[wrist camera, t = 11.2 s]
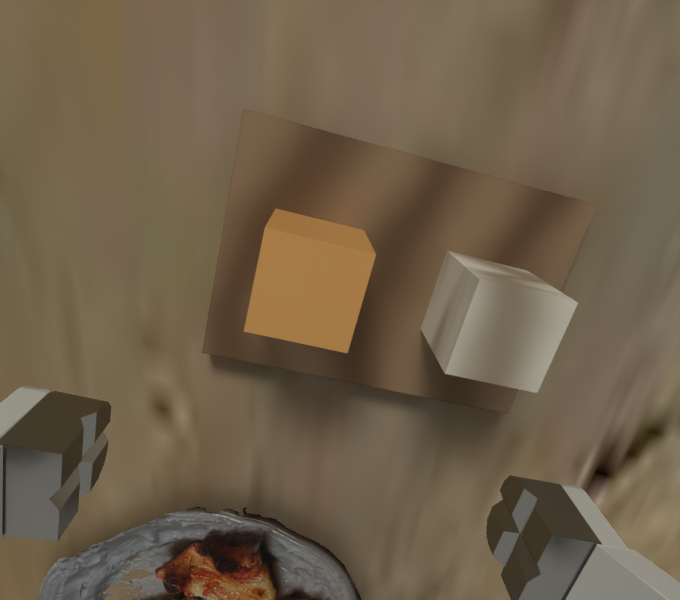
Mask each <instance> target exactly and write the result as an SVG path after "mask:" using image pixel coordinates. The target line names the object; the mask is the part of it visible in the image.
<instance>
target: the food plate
mask: <svg viewBox="0 0 680 600" xmlns="http://www.w3.org/2000/svg"><path fill="white" fill-rule="evenodd" d="M245 509H246V508H244V509H243V513H244V515H245V517H240V516H239V515H238V512H237V511H234V510H233V509H232V510H231V509H222V510H221V511H218V512H216V513H207V512H206V510H205V508H200V507H195V508H191V509H186V510H181V511H179V512H173V513H172V514H171V513H169V514H163V515H170V516H166V517H164V518H158V519H155V520H153V521H150V522H148V523H146V524H145V523H144V524H143V525H141V526H137V527H134V528H132V529H129V530H127V531H122V532H121V533H118V534H117V535H116V536H114V537H113V538H112V539H109V540H106V541H104V542H99V543H98V544H93V545H92V546H91V547H89V548H88V549H86V550H85V551H82V552H80V553H79V555H78V556H72V557H70V558H69V557H67V558H69V559H68V560H65V559H67V558H59V559H58V560H57V562H56V563H55V564H54V565H53V566H52V567H51V568H50V569H49V571H48V573H47V574H46V576H45V577H44V579H43V581H42V583H41V587H40V592H39V598H38V600H104V598H105V597H106V596H107V594H109V595H111V594H114V593H111V592H109V591H108V590H107V588H108V587H109V585H111V586H115V585H117V584H120V582H123V583H126V584H127V585H133V587H132V588H130V587H127V589H128V590H130V589H132V590H135V588H136V587H140V586H143V587H142V591H140V593H144V594H141V595H138V596H140V600H361V598H360V595H359V594H358V592H357V589H356V588H355V585H354V582H353V581H352V579H351V578H350V575H349V574H348V572H347V570H346V568H345V566H344V565H343V563H341V561H340V560H338V558H336V557H335V555H333V553H331V552H330V551H329V549H326V548H325V547H324V546H320V544H319V543H317V542H315V541H314V540H311V539H309V538H306V537H304V536H301V535H299V534H297V533H296V532H294V531H291V530H290V529H289V528H286V527H285V526H284V525H282V523H280V522H279V521H277V520H276V519H272V518H264V517H261V515H259V514H258V515H257V514H256V515H254V514H247V513H246V511H245ZM166 543H168V544H166ZM164 544H166V545H165V546H164ZM141 551H143V552H141ZM147 554H148V555H147ZM76 555H77V554H76ZM138 555H140V558H139V559H136V558H135V559H134V560H133V561H132V562H131V561H130V559H131V558H133V557H136V556H138ZM158 556H159V557H158ZM63 560H65V561H63ZM61 561H63V562H61ZM136 561H138V562H137V563H136V564H135V562H136ZM144 561H145V562H144ZM151 563H154V564H156V567H153V568H152V567H151V566H150V565H151ZM128 565H131V567H130V570H128V571H127V572H126V571H124V569H126V567H127V566H128ZM140 566H143V567H142V568H141V567H140ZM136 568H137V569H136ZM133 569H135V570H138V569H141V570H142V571H143V570H146V571H148V573H150V574H152V575H150V576H148V577H146V578H143V579H132V581H131V582H130V581H128V582H126V581H121V579H122V578H123V576H124V574H122V573H125V575H128V574H129V573H130V571H131V570H133ZM118 571H119V572H121V573H119V574H116V573H117V572H118ZM133 576H134V575H133ZM139 577H141V575H139ZM117 582H118V583H117ZM123 588H124V587H121V589H123ZM125 593H127V594H128V595H130V596H131V593H129V592H125ZM115 594H117V592H115ZM136 596H137V594H135V595H134V596H133V597H136ZM166 596H167V597H166ZM117 597H119V596H117ZM133 600H138V599H135V598H134V599H133Z"/></svg>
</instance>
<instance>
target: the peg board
mask: <svg viewBox="0 0 680 600" xmlns="http://www.w3.org/2000/svg"><path fill="white" fill-rule="evenodd" d="M597 207H598V205H595V204H591V203H588V202H584V201H580V200H576V199H573V198H569V197H565V196H562V195H558V194H554V193H551V192H547V191H543V190H540V189H536V188H532V187H529V186H525V185H521V184H518V183H514V182H510V181H507V180H503V179H499V178H496V177H492V176H488V175H484V174H481V173H477V172H473V171H470V170H466V169H462V168H459V167H455V166H451V165H448V164H444V163H440V162H437V161H433V160H429V159H426V158H422V157H418V156H415V155H411V154H407V153H404V152H400V151H396V150H392V149H389V148H385V147H381V146H378V145H374V144H370V143H367V142H363V141H359V140H356V139H352V138H348V137H345V136H341V135H337V134H334V133H330V132H326V131H323V130H319V129H315V128H312V127H308V126H304V125H300V124H297V123H293V122H289V121H286V120H282V119H278V118H275V117H271V116H267V115H264V114H260V113H256V112H253V111H249V110H245V109H244V110H243V116H242V122H241V128H240V133H239V139H238V145H237V151H236V157H235V163H234V169H233V174H232V180H231V186H230V192H229V198H228V204H227V210H226V215H225V221H224V227H223V233H222V239H221V245H220V251H219V256H218V262H217V268H216V274H215V280H214V286H213V292H212V297H211V303H210V309H209V315H208V321H207V327H206V333H205V338H204V344H203V350H202V353H206V354H211V355H216V356H221V357H226V358H231V359H236V360H241V361H246V362H251V363H256V364H261V365H266V366H271V367H276V368H281V369H286V370H291V371H296V372H301V373H306V374H311V375H316V376H321V377H326V378H331V379H336V380H341V381H346V382H351V383H356V384H361V385H366V386H371V387H376V388H381V389H386V390H391V391H396V392H401V393H406V394H411V395H416V396H421V397H426V398H431V399H436V400H441V401H446V402H451V403H456V404H461V405H466V406H471V407H476V408H481V409H486V410H491V411H496V412H501V413H506V414H508V411H509V409H510V407H511V404H512V402H513V400H514V398H515V395H516V393H517V391H518V389H520V390H525V391H530V392H535V393H537V392H538V390H539V388H540V386H541V384H542V381H543V379H544V377H545V375H546V373H547V370H548V368H549V366H550V364H551V362H552V359H553V357H554V355H555V353H556V351H557V348H558V346H559V344H560V342H561V340H562V337H563V335H564V333H565V331H566V328H567V326H568V324H569V322H570V320H571V317H572V315H573V313H574V311H575V309H576V306H577V304H578V303H577V302H576V301H574V300H573V299H571V298H570V297H568V296H566V295H565V294H563V293H562V292H561V290H562V287H563V285H564V283H565V281H566V278H567V276H568V274H569V271H570V269H571V267H572V265H573V262H574V260H575V258H576V255H577V253H578V251H579V248H580V246H581V244H582V242H583V239H584V237H585V235H586V232H587V230H588V228H589V226H590V223H591V221H592V219H593V216H594V214H595V212H596V210H597ZM275 209H280V210H284V211H288V212H292V213H296V214H300V215H304V216H308V217H313V218H317V219H321V220H325V221H329V222H333V223H337V224H341V225H345V226H349V227H353V228H357V229H361V230H364V231H365V233H366V235H367V237H368V239H369V241H370V243H371V245H372V247H373V249H374V251H375V253H376V257H375V260H374V264H373V267H372V271H371V274H370V278H369V281H368V285H367V288H366V292H365V295H364V298H363V302H362V305H361V309H360V312H359V316H358V319H357V323H356V326H355V329H354V333H353V336H352V340H351V343H350V347H349V350H348V353H343V352H339V351H334V350H329V349H324V348H320V347H315V346H310V345H305V344H301V343H296V342H291V341H286V340H282V339H277V338H272V337H267V336H263V335H258V334H253V333H249V332H244V327H245V322H246V318H247V313H248V308H249V303H250V298H251V293H252V288H253V283H254V278H255V273H256V268H257V263H258V258H259V254H260V249H261V244H262V239H263V234H264V229H265V226H266V225H267V223H268V221H269V219H270V217H271V216H272V214H273V212H274V210H275Z"/></svg>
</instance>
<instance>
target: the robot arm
mask: <svg viewBox="0 0 680 600" xmlns="http://www.w3.org/2000/svg"><path fill="white" fill-rule="evenodd" d="M110 416H111V406H110V404H109V402H106V401H102V400H97V399H92V398H87V397H82V396H77V395H72V394H67V393H62V392H57V391H51V390H47V389H41V388H36V387H30V386H24V387H20V388H18V389H17V390H15V391H14V392H13V393H12V394H11V395H9V396H8V397H7V398H6V399H5V400H3V401H2V402H1V403H0V540H1V539H2V537H3V536H11V537H20V538H28V539H37V540H46V541H55V542H58V540H59V539H60V537H61V536H62V534H63V533H64V531H65V529H66V528H67V526H68V525H69V523H70V522H71V520H72V519H73V517H74V516H75V514H76V513H77V511H78V502H79V497H81V496H83V495H85V494H86V493H88V492H90V491H91V489H92V488H93V486H94V484H95V483H96V481H97V480H98V477H99V475H100V473H101V470H102V468H103V465H104V462H105V458H106V454H107V448H108V439H107V438H106V436H105V435H104V433H103V430H104V429H105V428H106V426H107V425H108V424H109V422H110ZM500 492H501V495H502V498H503V500H501V501H500V502H498V503H497V504H495V505H494V506H493V507H492V509H491V511H490V514H489V516H488V519H487V531H486V534H487V539H488V544H489V547H490V550H491V552H492V555H493V556H494V557H495V558H496V559H497V560H498V561H499V562H500V563H501V564H502V565H503V566H504V567H503V570H502V573H501V577H502V579H503V581H504V584H505V586H506V588H507V591H508V593H509V596H510V598H511V600H680V583H679V582H678V581H676V580H675V579H674V578H672V577H671V576H670V575H668V574H667V573H666V572H664V571H663V570H661V569H660V568H659V567H657V566H656V565H655V564H653V563H652V562H651V561H649V560H648V559H646V558H645V557H644V556H642V555H641V554H640V553H638V552H637V551H635V550H629V549H628V548H627V547H626V545H625V544H624V543H623V541H622V540H621V539H620V537H619V536H618V535H617V533H616V532H615V531H614V529H613V528H612V527H611V525H610V524H609V523H608V521H607V520H606V519H605V517H604V516H603V515H602V513H601V512H600V511H599V509H598V508H597V507H596V505H595V504H594V503H593V501H592V500H591V499H590V497H589V496H588V495H587V493H586V492H585V491H584V490H583V489H581V488H580V487H578V486H576V485H569V484H563V483H556V482H555V483H551V482H545V481H540V480H534V479H528V478H522V477H517V476H511V475H510V476H509V477H508V478H507V479H506V480H505V481H504V483H503V485H502V487H501V489H500Z"/></svg>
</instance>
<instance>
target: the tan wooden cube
mask: <svg viewBox="0 0 680 600" xmlns="http://www.w3.org/2000/svg"><path fill="white" fill-rule="evenodd" d="M375 257H376V253H375V251H374V249H373V247H372V245H371V243H370V241H369V239H368V237H367V235H366V233H365V231H364V230H361V229H357V228H353V227H349V226H345V225H341V224H337V223H333V222H329V221H325V220H321V219H317V218H313V217H308V216H304V215H300V214H296V213H292V212H288V211H284V210H280V209H275V210H274V212H273V214H272V216H271V217H270V219H269V221H268V223H267V225H266V226H265V229H264V234H263V239H262V244H261V249H260V254H259V258H258V263H257V268H256V273H255V278H254V283H253V288H252V293H251V298H250V303H249V308H248V313H247V318H246V322H245V327H244V332H249V333H253V334H258V335H263V336H267V337H272V338H277V339H282V340H286V341H291V342H296V343H301V344H305V345H310V346H315V347H320V348H324V349H329V350H334V351H339V352H343V353H348V350H349V347H350V343H351V340H352V336H353V333H354V329H355V326H356V323H357V319H358V316H359V312H360V309H361V305H362V302H363V298H364V295H365V292H366V288H367V285H368V281H369V278H370V274H371V271H372V267H373V264H374V260H375Z"/></svg>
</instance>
